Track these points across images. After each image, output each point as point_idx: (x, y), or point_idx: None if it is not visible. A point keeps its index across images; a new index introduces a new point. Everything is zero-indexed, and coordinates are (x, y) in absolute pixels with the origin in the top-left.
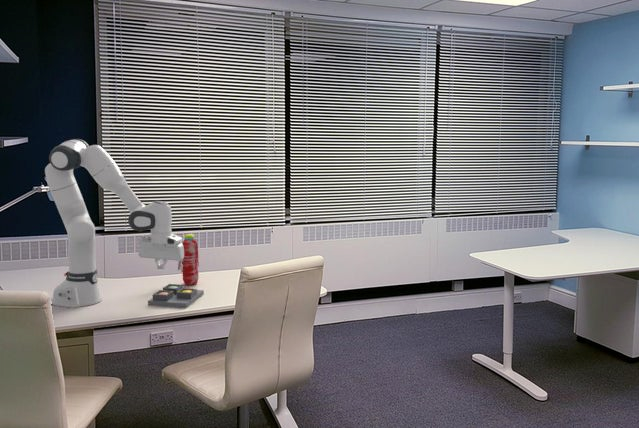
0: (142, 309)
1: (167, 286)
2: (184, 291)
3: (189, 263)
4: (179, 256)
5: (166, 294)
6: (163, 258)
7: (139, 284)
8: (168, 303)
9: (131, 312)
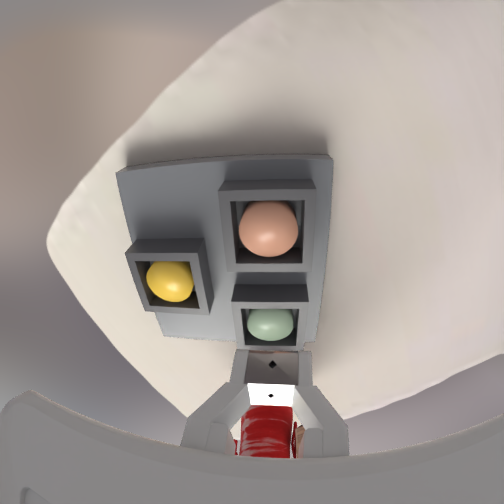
0: (324, 87)
1: (297, 327)
2: (178, 281)
3: (256, 448)
4: (1, 417)
5: (241, 219)
6: (188, 460)
7: (422, 358)
8: (207, 160)
9: (354, 40)
